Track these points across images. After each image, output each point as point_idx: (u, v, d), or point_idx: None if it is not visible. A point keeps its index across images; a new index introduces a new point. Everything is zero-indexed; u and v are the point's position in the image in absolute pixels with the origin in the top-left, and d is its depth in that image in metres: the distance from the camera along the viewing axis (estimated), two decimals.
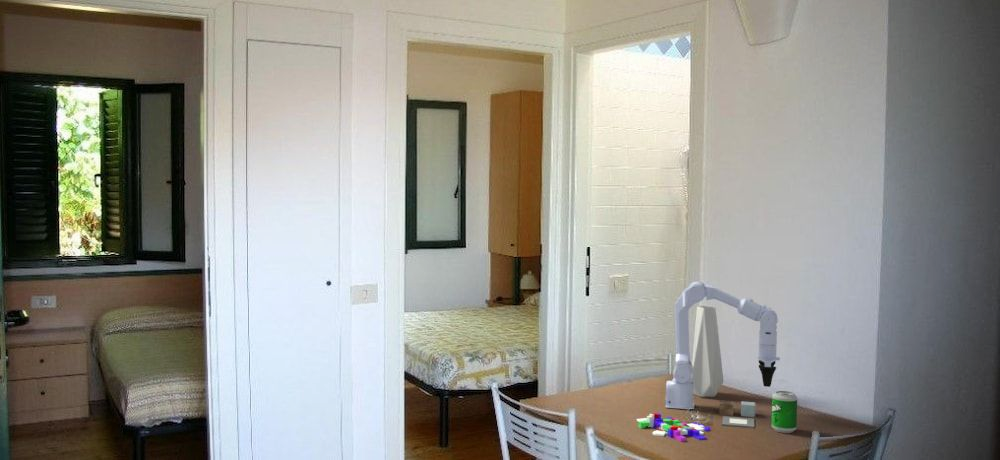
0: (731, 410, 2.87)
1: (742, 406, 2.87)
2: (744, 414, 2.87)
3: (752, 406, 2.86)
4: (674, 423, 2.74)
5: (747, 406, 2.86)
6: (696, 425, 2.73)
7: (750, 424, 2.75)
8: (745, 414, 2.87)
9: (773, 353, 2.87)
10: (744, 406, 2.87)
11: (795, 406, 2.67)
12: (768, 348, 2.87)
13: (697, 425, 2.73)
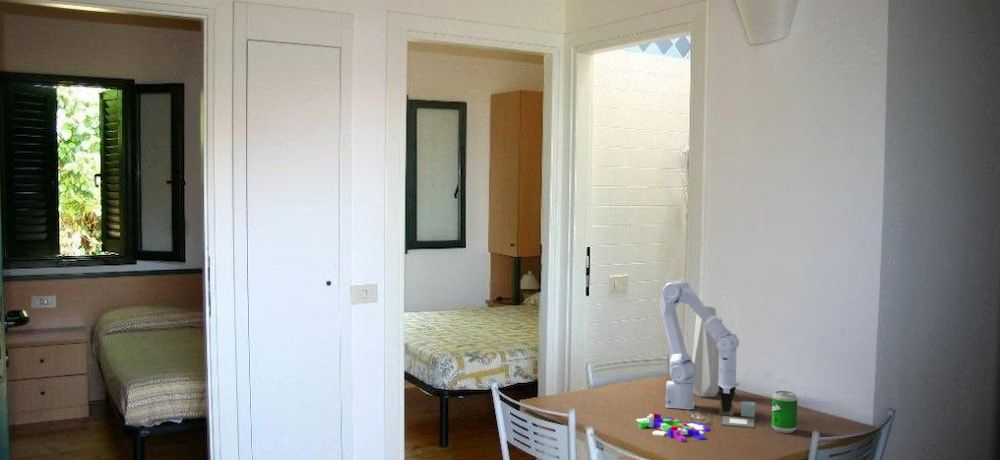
0: (731, 410, 2.87)
1: (742, 406, 2.87)
2: (744, 414, 2.87)
3: (752, 406, 2.86)
4: (674, 423, 2.74)
5: (747, 406, 2.86)
6: (696, 425, 2.73)
7: (750, 424, 2.75)
8: (745, 414, 2.87)
9: (733, 379, 2.87)
10: (744, 406, 2.87)
11: (795, 406, 2.67)
12: (727, 374, 2.86)
13: (697, 425, 2.73)
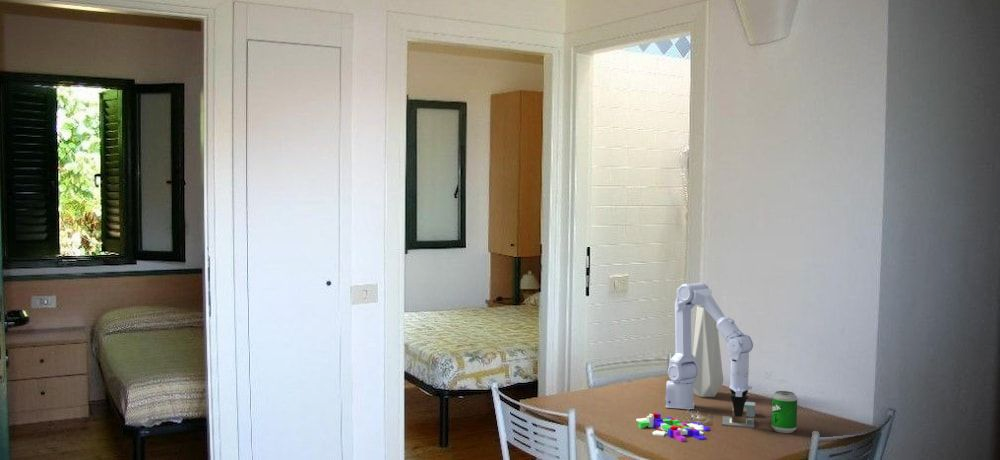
0: (744, 417, 2.76)
1: None
2: None
3: (751, 406, 2.86)
4: (674, 423, 2.74)
5: (747, 406, 2.86)
6: (696, 425, 2.73)
7: (750, 424, 2.75)
8: None
9: (745, 382, 2.76)
10: (744, 406, 2.87)
11: (795, 406, 2.67)
12: (739, 377, 2.75)
13: (697, 425, 2.73)
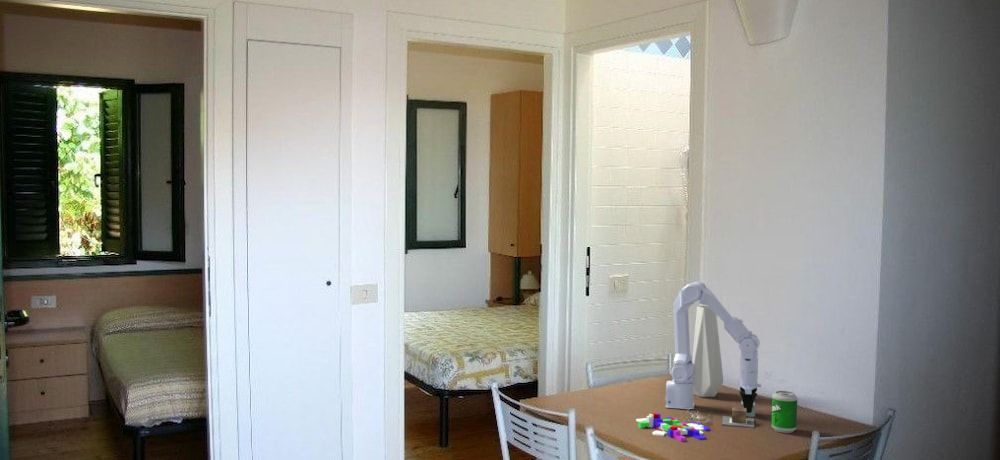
0: (744, 417, 2.76)
1: (742, 406, 2.87)
2: None
3: None
4: (674, 423, 2.74)
5: None
6: (696, 425, 2.73)
7: (750, 424, 2.75)
8: None
9: (754, 380, 2.86)
10: None
11: (795, 406, 2.67)
12: (749, 375, 2.85)
13: (697, 425, 2.73)
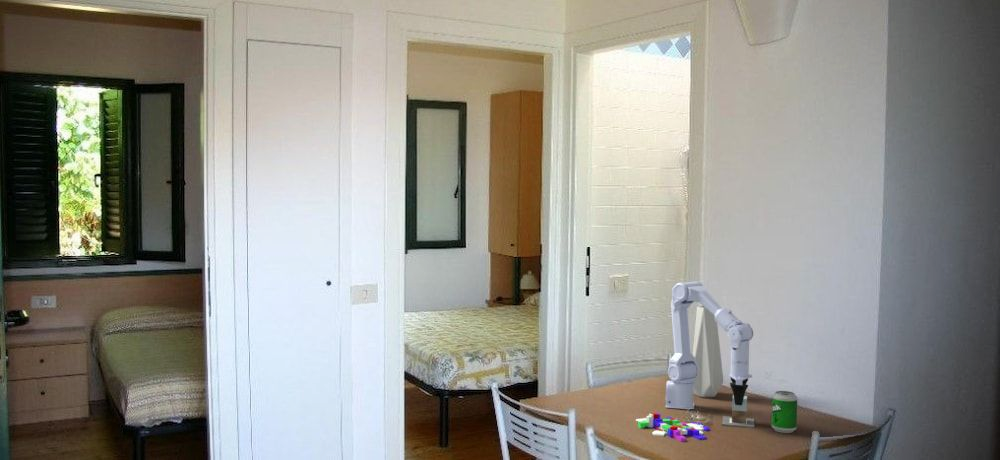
0: (744, 417, 2.76)
1: (733, 400, 2.77)
2: (736, 408, 2.77)
3: (743, 400, 2.76)
4: (673, 423, 2.74)
5: None
6: (695, 425, 2.73)
7: (750, 424, 2.75)
8: (737, 408, 2.77)
9: (745, 370, 2.76)
10: None
11: (795, 406, 2.67)
12: (740, 365, 2.75)
13: (696, 425, 2.73)
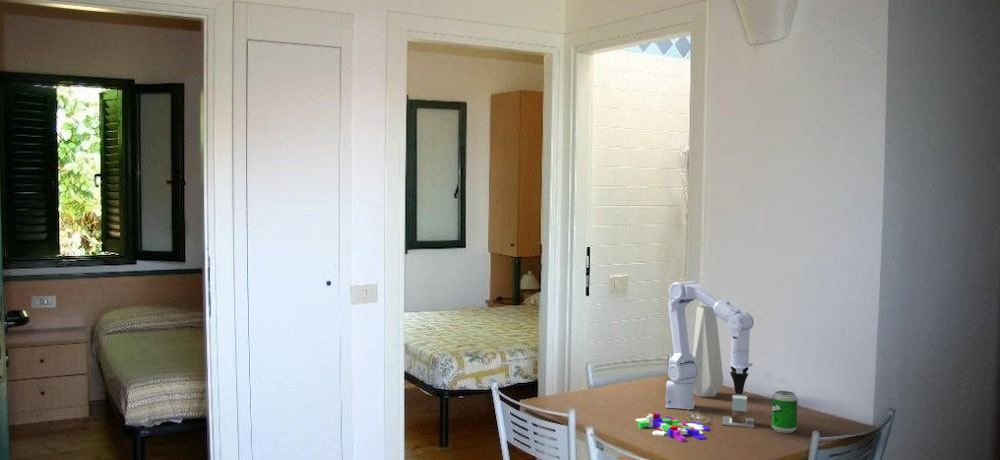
0: (744, 417, 2.76)
1: (733, 400, 2.77)
2: (736, 408, 2.77)
3: (743, 400, 2.76)
4: (673, 423, 2.74)
5: (739, 400, 2.76)
6: (695, 425, 2.73)
7: (750, 424, 2.75)
8: (737, 408, 2.77)
9: (746, 359, 2.75)
10: (735, 400, 2.77)
11: (795, 406, 2.67)
12: (740, 354, 2.75)
13: (696, 425, 2.73)
